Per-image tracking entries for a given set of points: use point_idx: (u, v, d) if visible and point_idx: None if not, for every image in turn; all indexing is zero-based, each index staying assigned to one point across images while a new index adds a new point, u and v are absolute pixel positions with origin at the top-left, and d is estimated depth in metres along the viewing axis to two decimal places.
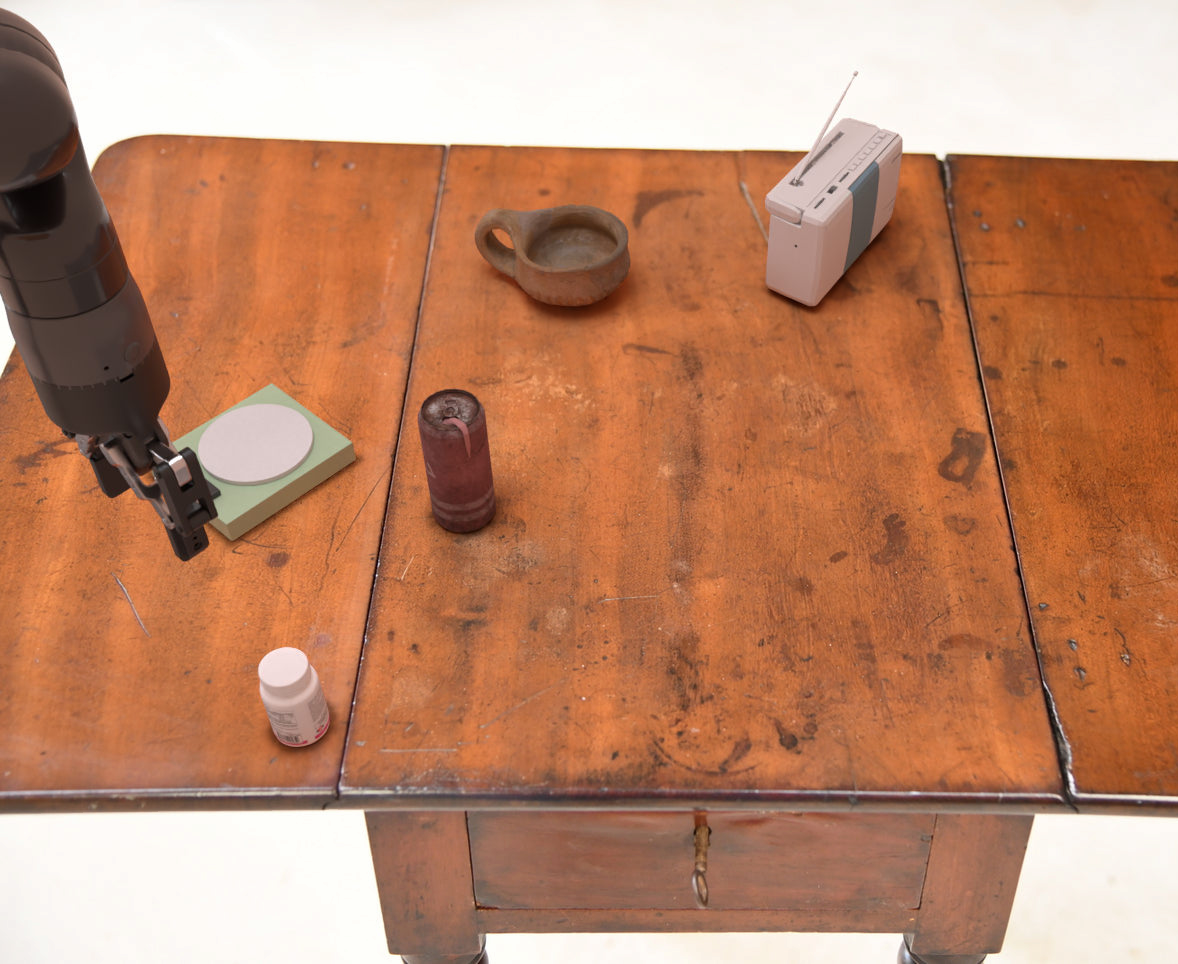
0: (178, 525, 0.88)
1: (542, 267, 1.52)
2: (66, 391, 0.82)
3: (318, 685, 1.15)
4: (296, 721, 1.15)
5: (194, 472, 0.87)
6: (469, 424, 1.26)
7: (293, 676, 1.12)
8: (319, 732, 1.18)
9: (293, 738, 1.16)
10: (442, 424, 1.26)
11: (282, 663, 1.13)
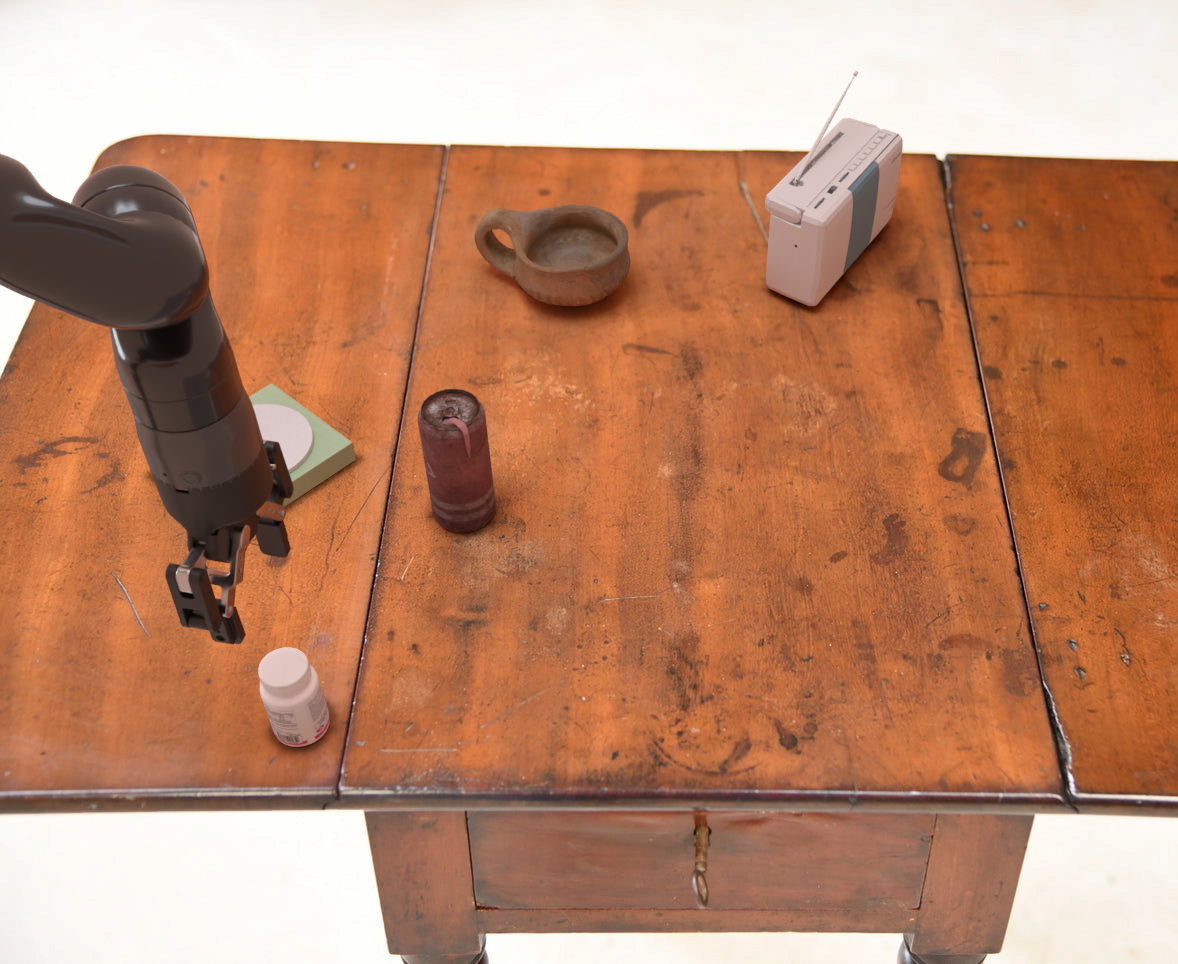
0: None
1: (542, 267, 1.52)
2: None
3: (318, 685, 1.15)
4: (296, 721, 1.15)
5: (194, 590, 0.95)
6: (469, 424, 1.26)
7: (293, 676, 1.12)
8: (319, 732, 1.18)
9: (293, 738, 1.16)
10: (442, 424, 1.26)
11: (282, 663, 1.13)
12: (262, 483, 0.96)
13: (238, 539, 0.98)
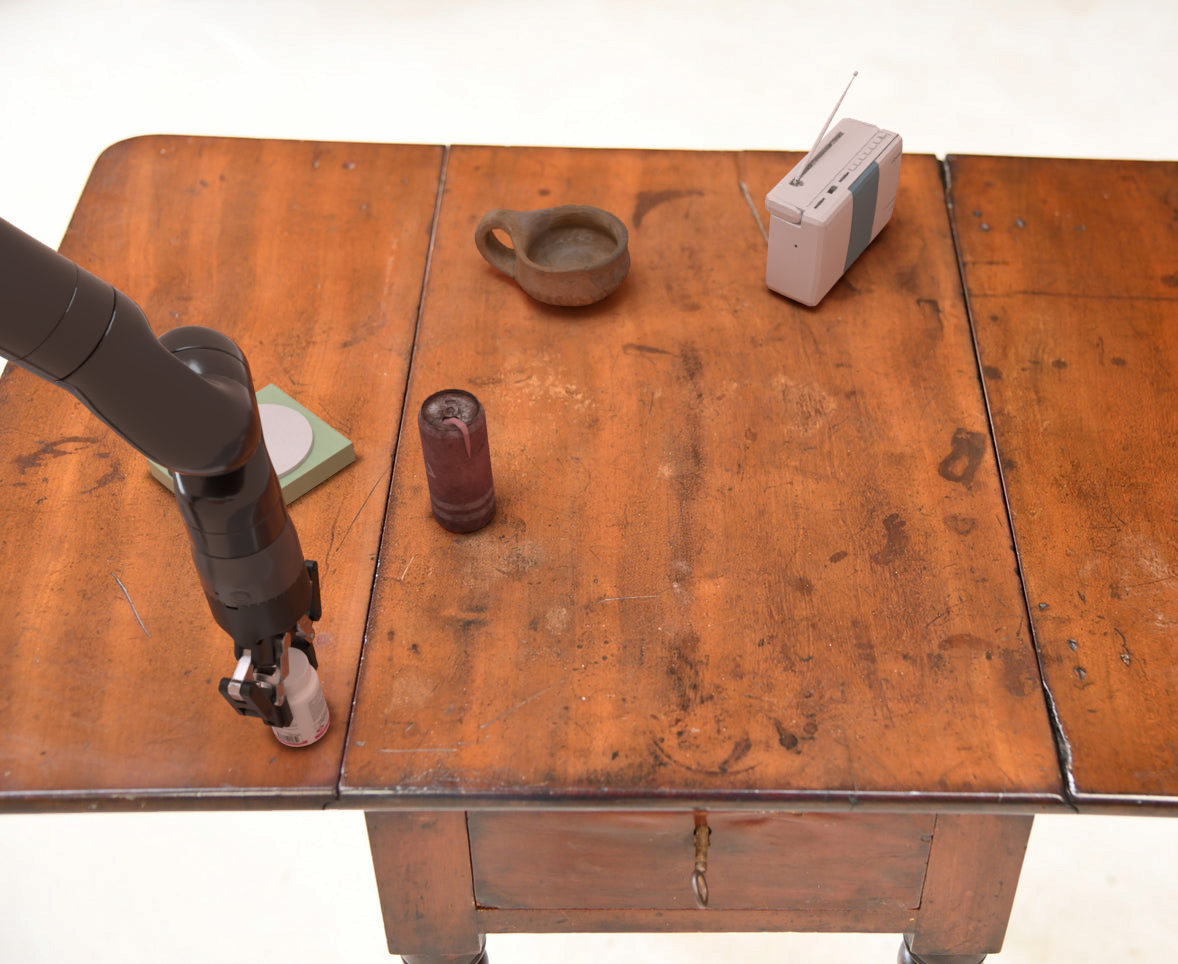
0: None
1: (542, 267, 1.52)
2: None
3: (318, 685, 1.15)
4: (296, 721, 1.15)
5: (246, 700, 1.05)
6: (469, 424, 1.26)
7: (293, 676, 1.12)
8: (319, 732, 1.18)
9: (293, 738, 1.16)
10: (442, 424, 1.26)
11: None
12: (303, 597, 1.05)
13: (280, 647, 1.08)
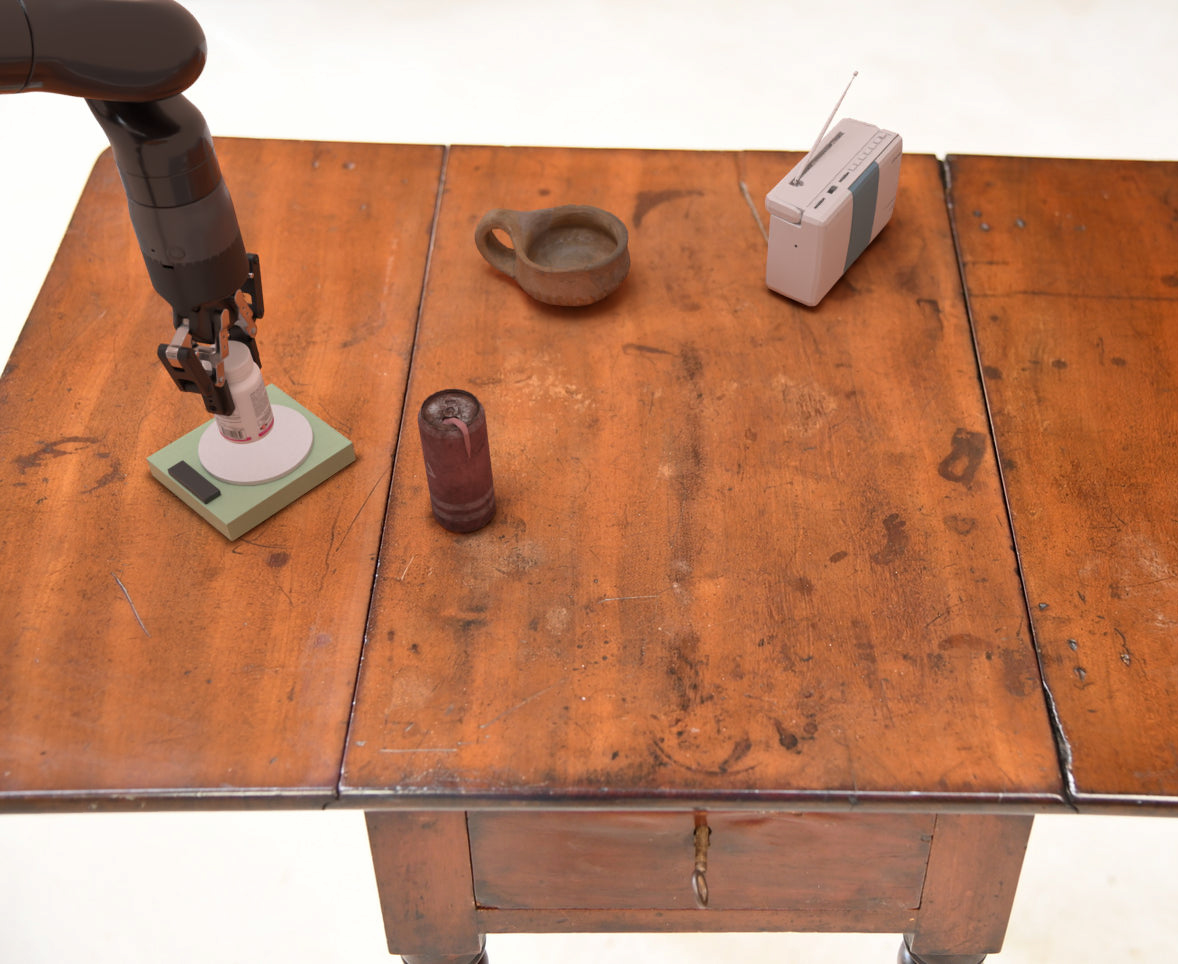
0: None
1: (542, 267, 1.52)
2: None
3: (260, 379, 1.19)
4: (239, 412, 1.19)
5: (184, 366, 1.10)
6: (469, 424, 1.26)
7: (235, 363, 1.17)
8: (263, 430, 1.22)
9: (237, 434, 1.21)
10: (442, 424, 1.26)
11: None
12: (238, 267, 1.09)
13: (218, 322, 1.12)
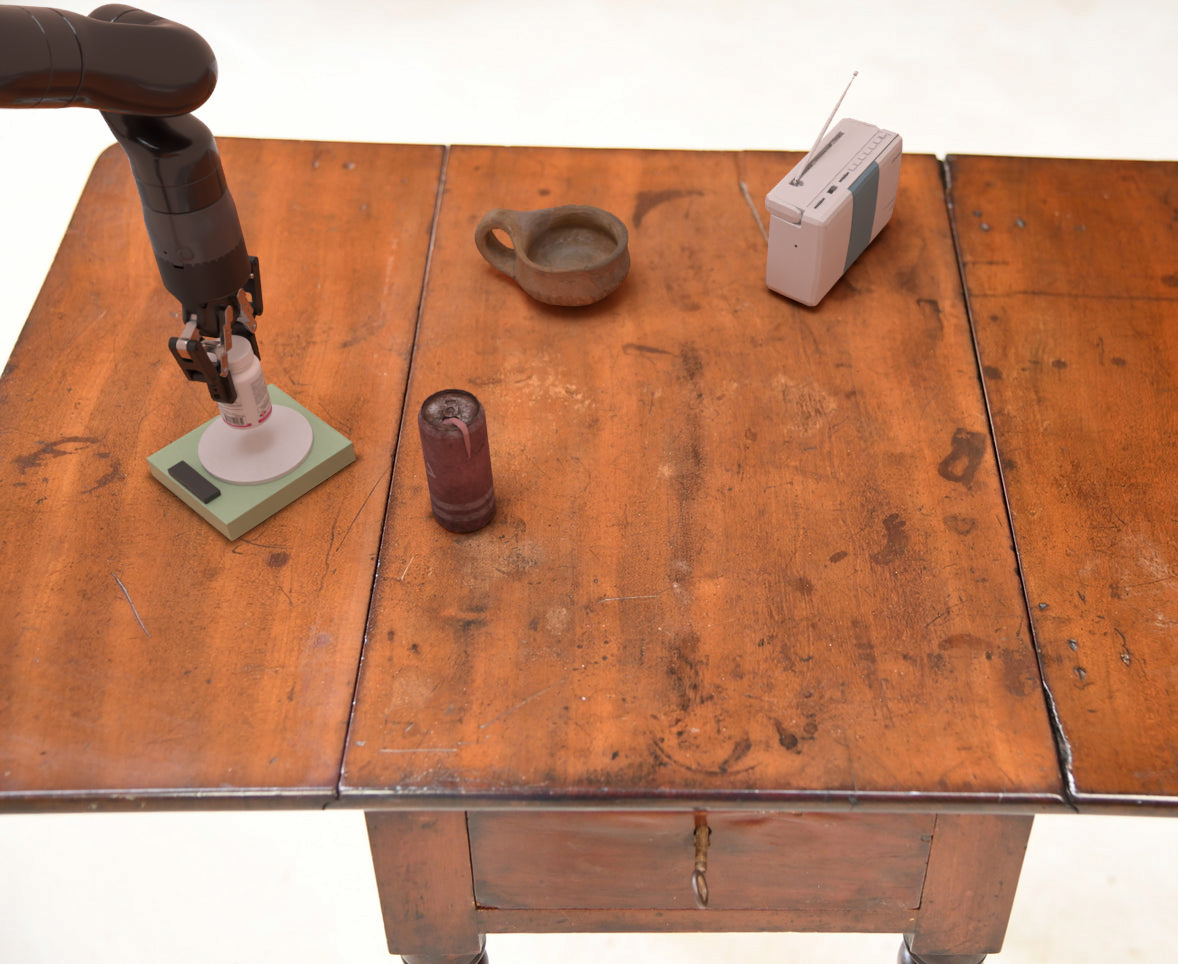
0: None
1: (542, 267, 1.52)
2: (153, 251, 1.19)
3: (260, 370, 1.31)
4: (240, 400, 1.31)
5: (192, 357, 1.21)
6: (469, 424, 1.26)
7: (237, 355, 1.29)
8: (262, 417, 1.34)
9: (238, 420, 1.33)
10: (442, 424, 1.26)
11: None
12: (241, 267, 1.21)
13: (223, 318, 1.24)
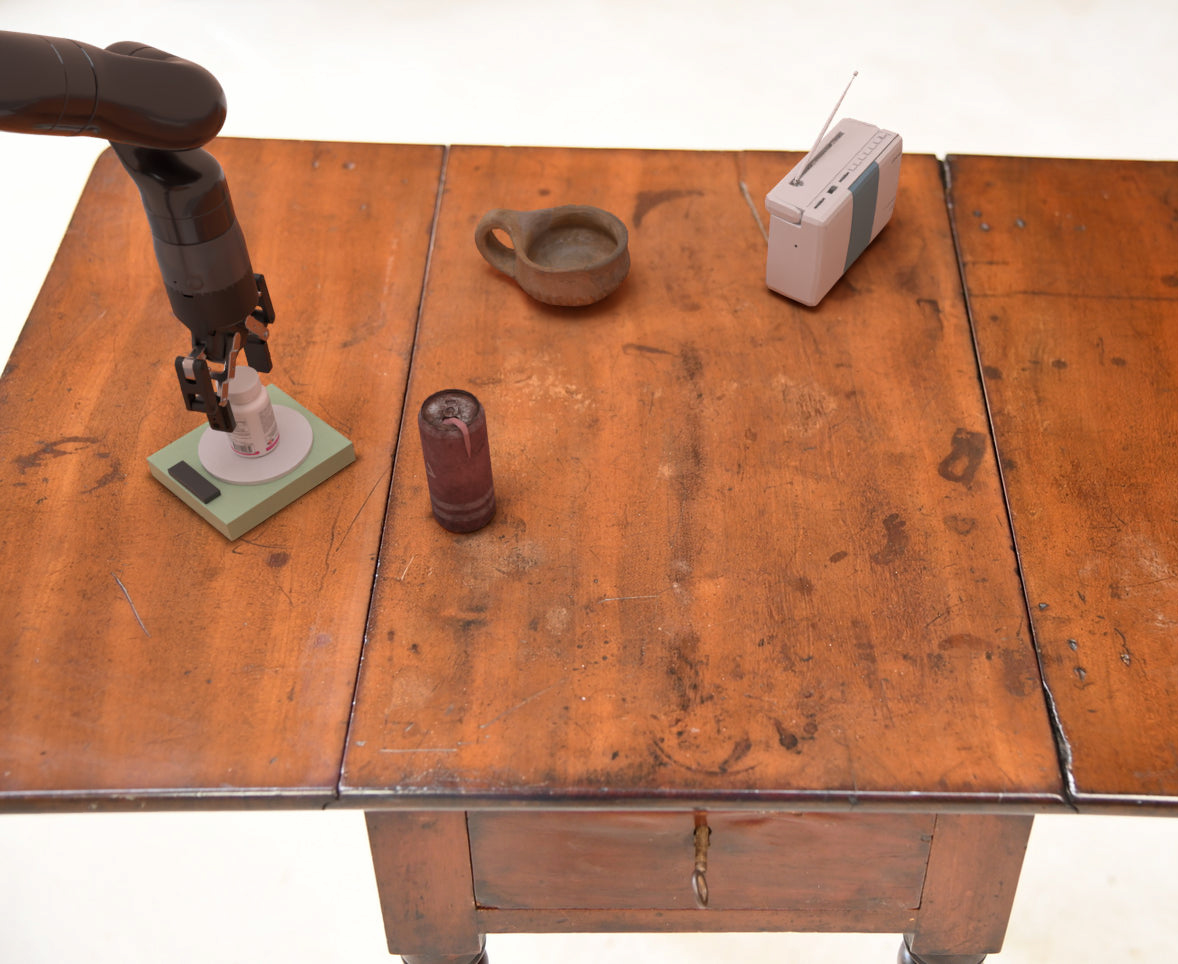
0: None
1: (542, 267, 1.52)
2: (163, 280, 1.22)
3: (268, 399, 1.34)
4: (249, 429, 1.34)
5: (197, 376, 1.23)
6: (469, 424, 1.26)
7: (245, 386, 1.31)
8: (270, 445, 1.36)
9: (246, 448, 1.35)
10: (442, 424, 1.26)
11: (236, 376, 1.32)
12: (249, 295, 1.23)
13: (231, 342, 1.26)
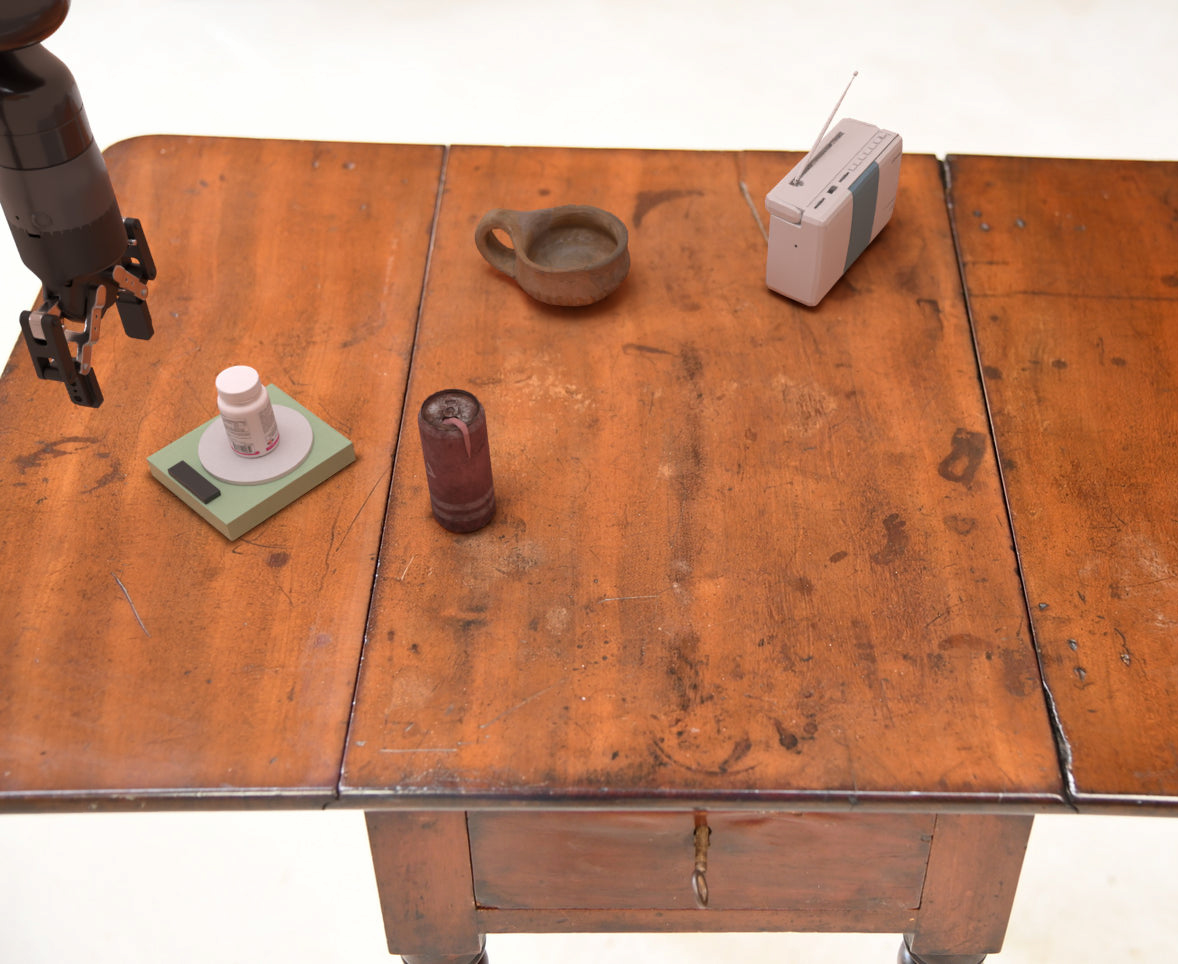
0: None
1: (542, 267, 1.52)
2: None
3: (268, 399, 1.34)
4: (249, 429, 1.34)
5: (47, 335, 1.01)
6: (469, 424, 1.26)
7: (245, 386, 1.31)
8: (270, 445, 1.36)
9: (246, 448, 1.35)
10: (442, 424, 1.26)
11: (236, 376, 1.32)
12: (114, 238, 1.02)
13: (93, 297, 1.04)
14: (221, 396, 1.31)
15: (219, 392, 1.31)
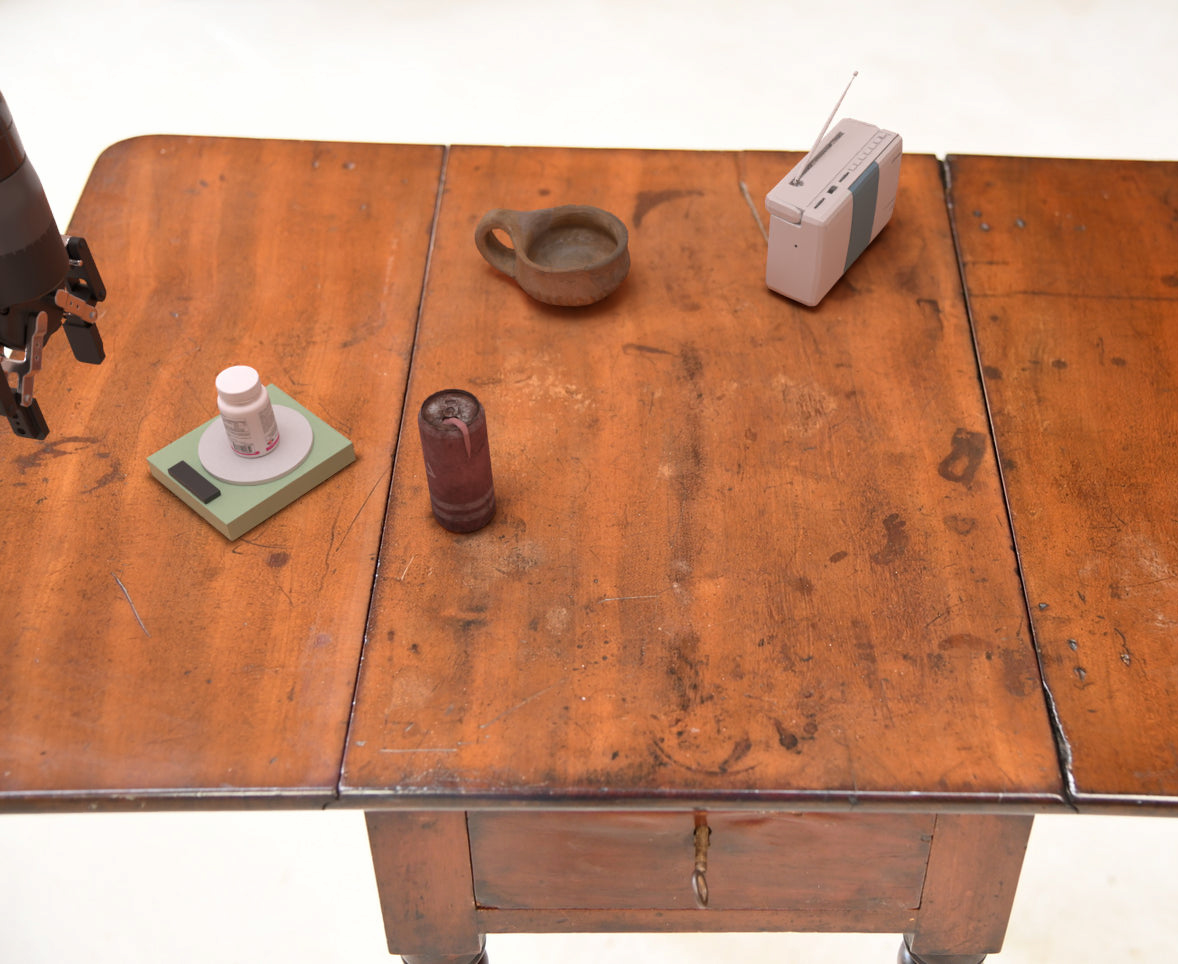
0: None
1: (542, 267, 1.52)
2: None
3: (268, 399, 1.34)
4: (249, 429, 1.34)
5: None
6: (469, 424, 1.26)
7: (245, 386, 1.31)
8: (270, 445, 1.36)
9: (246, 448, 1.35)
10: (442, 424, 1.26)
11: (236, 376, 1.32)
12: (52, 262, 0.95)
13: (33, 324, 0.97)
14: (221, 396, 1.31)
15: (219, 392, 1.31)
